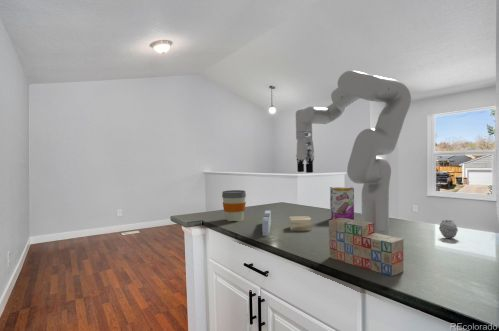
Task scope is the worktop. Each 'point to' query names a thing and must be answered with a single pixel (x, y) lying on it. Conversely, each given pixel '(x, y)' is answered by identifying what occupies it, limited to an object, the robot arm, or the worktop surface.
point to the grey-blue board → (266, 223)
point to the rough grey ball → (448, 228)
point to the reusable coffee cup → (234, 204)
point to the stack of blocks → (365, 246)
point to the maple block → (300, 223)
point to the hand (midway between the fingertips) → (305, 172)
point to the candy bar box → (342, 202)
